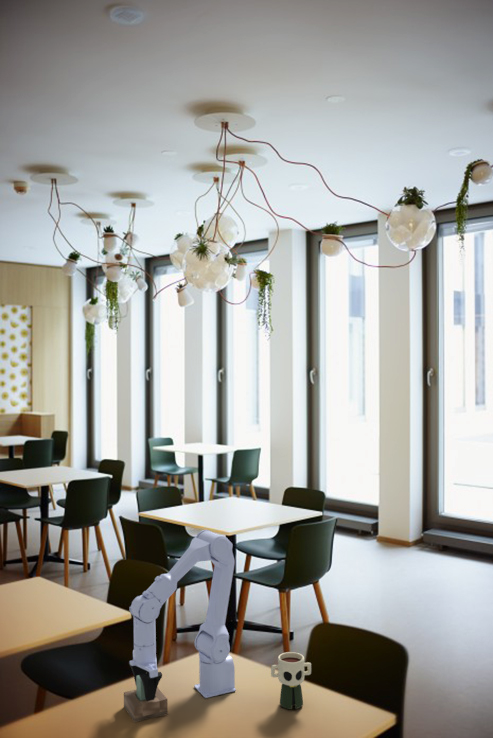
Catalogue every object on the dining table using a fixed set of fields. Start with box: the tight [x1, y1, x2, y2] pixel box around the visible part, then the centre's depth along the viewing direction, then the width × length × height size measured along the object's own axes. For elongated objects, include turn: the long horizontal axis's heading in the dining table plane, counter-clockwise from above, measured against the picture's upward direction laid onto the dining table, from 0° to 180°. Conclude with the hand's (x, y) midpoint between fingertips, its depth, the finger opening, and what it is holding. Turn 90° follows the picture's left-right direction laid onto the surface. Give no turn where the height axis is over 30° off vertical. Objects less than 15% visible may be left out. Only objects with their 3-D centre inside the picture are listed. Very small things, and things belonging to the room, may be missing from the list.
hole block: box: [123, 686, 169, 723], centre depth 192 cm, size 9×9×4 cm
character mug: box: [270, 651, 312, 710], centre depth 194 cm, size 11×7×13 cm, turn 98°
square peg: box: [135, 675, 146, 701], centre depth 192 cm, size 4×4×8 cm
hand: (145, 693), depth 192 cm, fingers open, 7 cm apart
